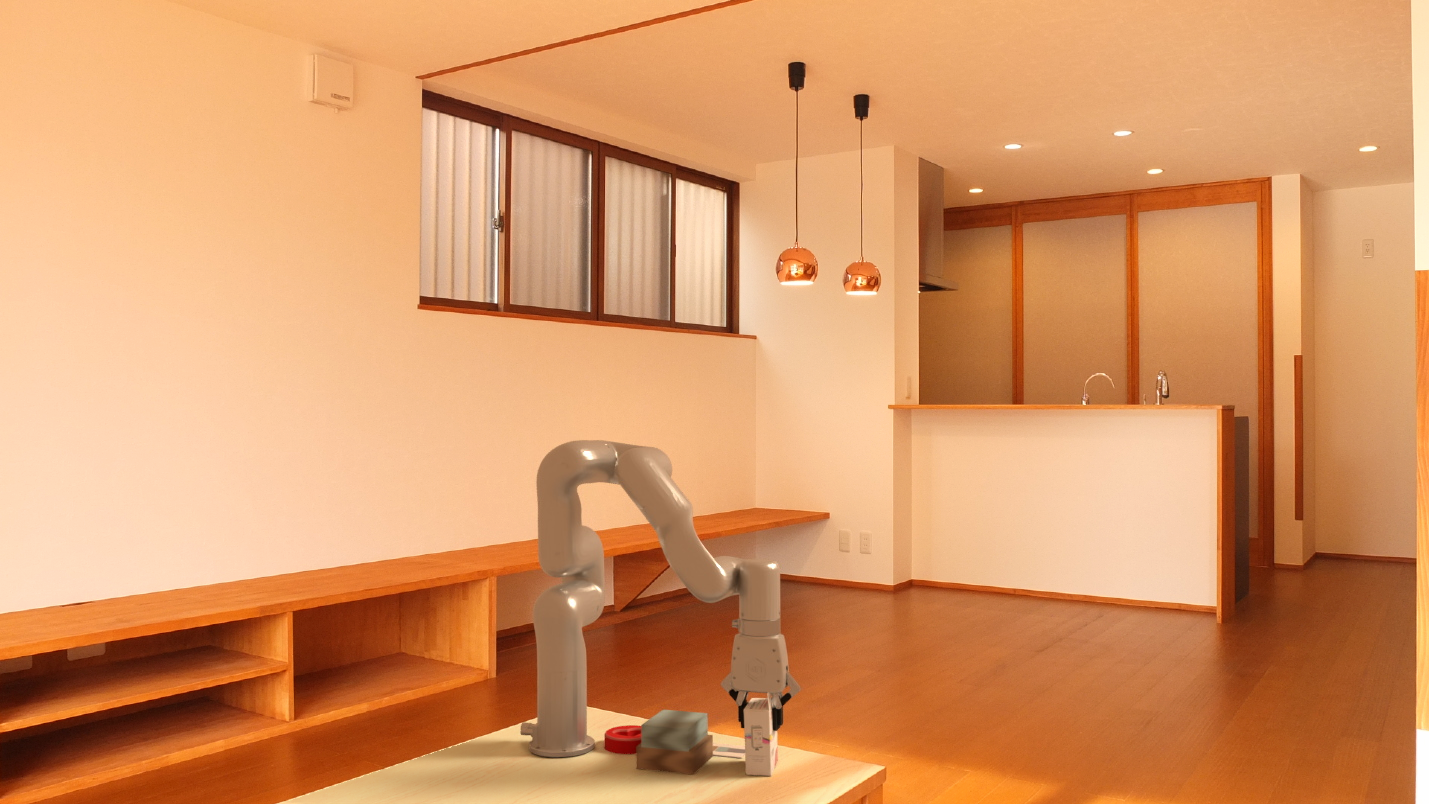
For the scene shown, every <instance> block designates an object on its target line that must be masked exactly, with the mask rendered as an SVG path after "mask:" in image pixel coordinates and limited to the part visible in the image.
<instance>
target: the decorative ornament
mask: <svg viewBox="0 0 1429 804" xmlns="http://www.w3.org/2000/svg"><path fill="white" fill-rule="evenodd" d="M603 734H604V735H603V737H604V750H605V751H607V752H609V753H612V754H617V755H636V747H637V746H638V745H639V744H641V725H636V724H635V725H632V724H631V725H630V724H628V725H620V726H613V727H611V728H608V729H607V730H606V731H605V732H604V733H603Z"/></svg>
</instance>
